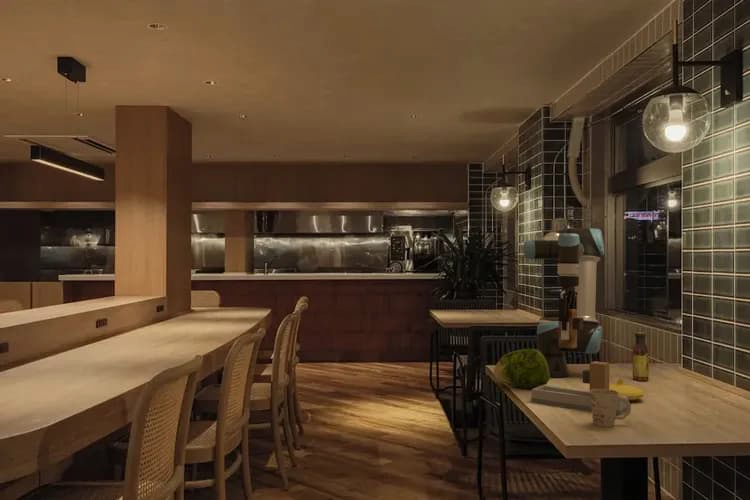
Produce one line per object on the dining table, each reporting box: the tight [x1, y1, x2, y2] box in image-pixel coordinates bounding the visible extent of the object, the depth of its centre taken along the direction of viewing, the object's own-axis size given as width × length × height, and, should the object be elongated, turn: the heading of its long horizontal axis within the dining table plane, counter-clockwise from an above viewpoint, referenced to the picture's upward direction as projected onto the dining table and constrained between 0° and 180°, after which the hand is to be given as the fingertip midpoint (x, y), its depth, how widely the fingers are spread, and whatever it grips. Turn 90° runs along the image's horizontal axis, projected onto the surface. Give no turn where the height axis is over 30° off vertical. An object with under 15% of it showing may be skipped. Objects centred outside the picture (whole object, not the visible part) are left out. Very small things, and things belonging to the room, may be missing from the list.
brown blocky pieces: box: [530, 360, 628, 416], centre depth 218 cm, size 30×10×16 cm, turn 53°
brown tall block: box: [558, 309, 583, 349], centre depth 234 cm, size 8×5×14 cm, turn 53°
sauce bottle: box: [632, 332, 650, 382], centre depth 267 cm, size 6×6×20 cm
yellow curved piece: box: [609, 378, 645, 402], centre depth 230 cm, size 16×16×7 cm
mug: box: [588, 389, 632, 428], centre depth 194 cm, size 8×13×10 cm, turn 95°
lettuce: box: [493, 348, 551, 389], centre depth 250 cm, size 16×21×15 cm
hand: (567, 338), depth 234 cm, fingers closed on brown tall block, 5 cm apart
